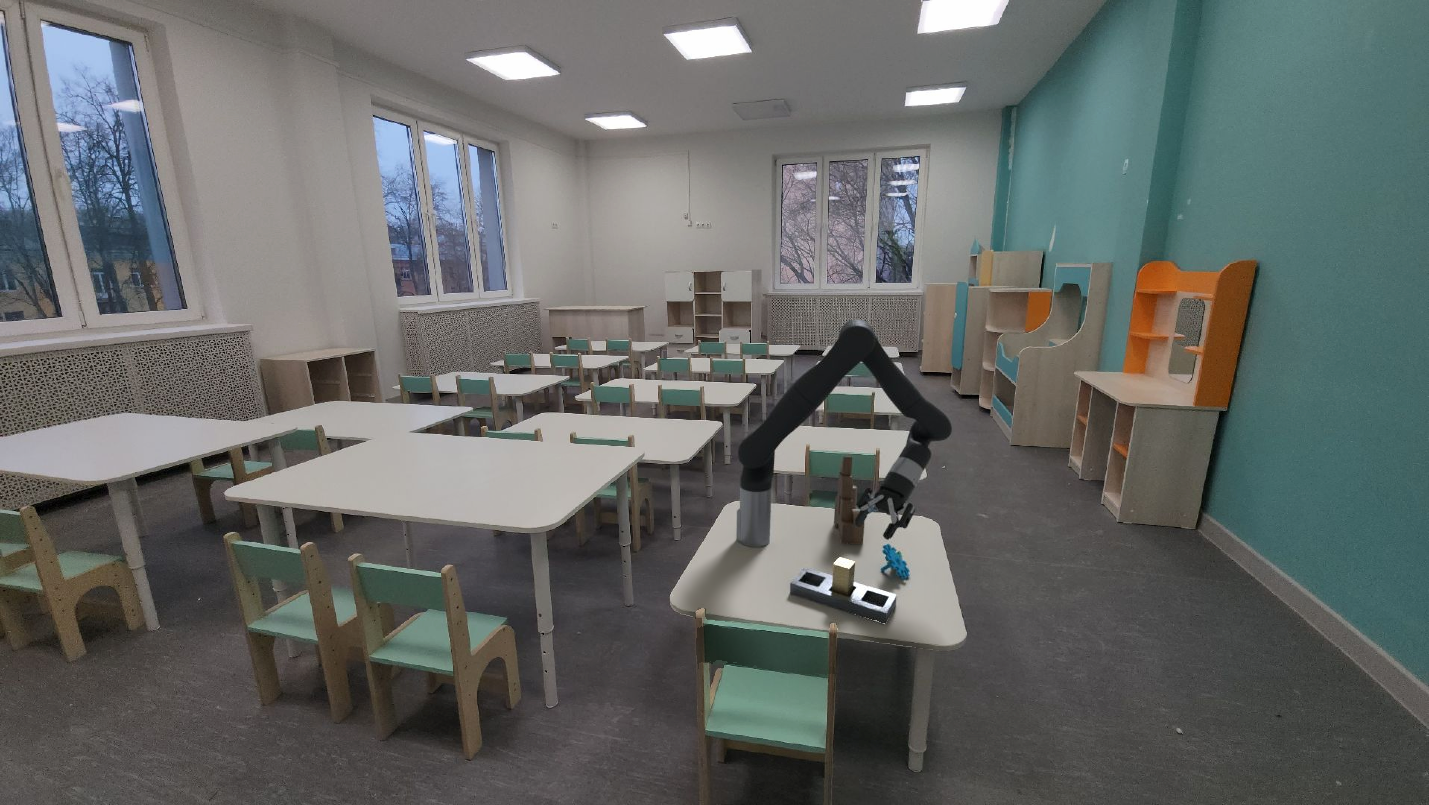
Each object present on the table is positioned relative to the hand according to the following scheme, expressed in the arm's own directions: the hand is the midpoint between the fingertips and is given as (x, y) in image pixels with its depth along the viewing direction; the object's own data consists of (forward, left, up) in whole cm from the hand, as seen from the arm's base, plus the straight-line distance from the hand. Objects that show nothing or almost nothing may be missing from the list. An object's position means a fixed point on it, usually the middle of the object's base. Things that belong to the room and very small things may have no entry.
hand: (871, 531), depth 145 cm
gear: (+4, +11, -16) cm, 20 cm away
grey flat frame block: (-3, -9, -15) cm, 18 cm away
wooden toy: (-14, +27, -16) cm, 34 cm away
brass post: (-3, -9, -15) cm, 18 cm away
